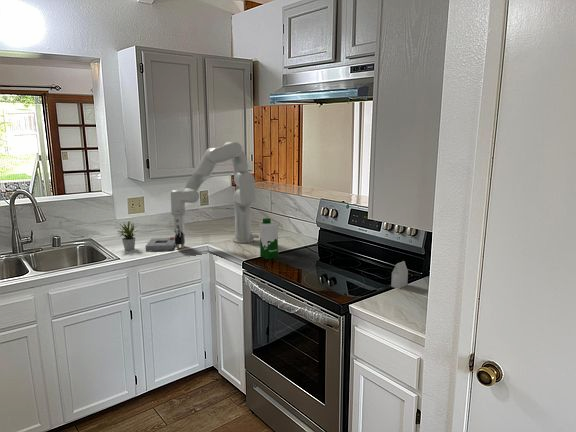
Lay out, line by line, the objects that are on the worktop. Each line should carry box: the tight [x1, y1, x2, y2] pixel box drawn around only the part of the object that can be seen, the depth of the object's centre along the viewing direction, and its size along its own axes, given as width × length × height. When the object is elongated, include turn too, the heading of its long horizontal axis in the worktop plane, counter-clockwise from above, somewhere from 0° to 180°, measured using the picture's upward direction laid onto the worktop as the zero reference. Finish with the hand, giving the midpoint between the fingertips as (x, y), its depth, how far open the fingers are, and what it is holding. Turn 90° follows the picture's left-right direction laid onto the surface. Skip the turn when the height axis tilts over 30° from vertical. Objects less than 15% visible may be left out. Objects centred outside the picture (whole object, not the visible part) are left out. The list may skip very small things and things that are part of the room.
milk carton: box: [258, 217, 280, 260], centre depth 223 cm, size 9×9×20 cm
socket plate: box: [145, 236, 176, 252], centre depth 247 cm, size 14×18×4 cm
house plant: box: [115, 220, 137, 251], centre depth 242 cm, size 14×14×16 cm
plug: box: [175, 233, 186, 249], centre depth 244 cm, size 5×4×8 cm
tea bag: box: [390, 260, 409, 289], centre depth 180 cm, size 4×7×10 cm, turn 136°
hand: (179, 241), depth 244 cm, fingers open, 9 cm apart
